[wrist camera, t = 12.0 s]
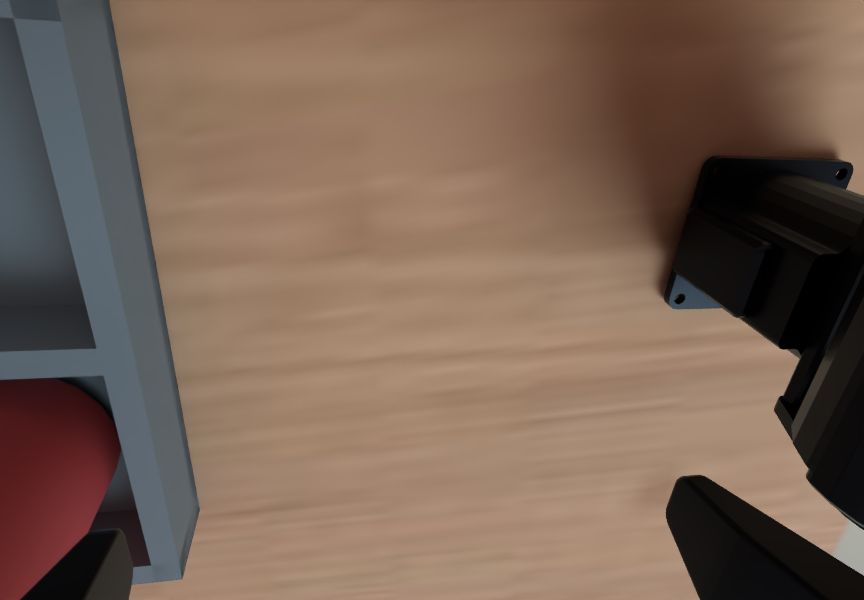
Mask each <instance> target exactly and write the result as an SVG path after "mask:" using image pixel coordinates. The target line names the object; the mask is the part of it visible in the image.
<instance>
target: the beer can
mask: <svg viewBox="0 0 864 600" xmlns="http://www.w3.org/2000/svg"><path fill="white" fill-rule="evenodd" d="M120 452H121V446H120V442H119V438H118V433H117V429H116V425H115V424H114V422H113V421H112V419H111V418H110V417H109V415H108V414H107V412H106V411H105V410H104V408H103V407H102V405H100V404H99V403H98V402H97V401H95V400H94V399H93V398H91V397H90V396H89V395H87V394H86V393H85V392H84V391H82V390H81V389H80V388H78V387H76V386H73V385H71V384H69V383H66V382H64V381H62V380H60V379H57V378H31V379H7V380H0V600H20V599H21V598H22V597H23V596H24V595H25V594H26V593H27V592H28V591H29V590H30V589H31V588H32V587H33V586H34V585H35V584H36V583H37V582H38V581H39V580H40V579H41V578H42V577H43V576H44V575H45V574H46V573H47V572H48V571H49V570H50V569H51V568H52V567H53V566H54V565H55V564H56V563H57V562H58V561H59V560H60V559H61V558H62V557H63V556H64V555H65V554H66V553H67V552H68V551H69V550H70V549H71V548H72V547H73V546H74V545H75V544H76V543H77V542H78V541H79V540H80V539H81V538H83V537H84V536H85V535H86V534H87V533H88V531H89V529H90V527H91V524H92V522H93V520H94V518H95V516H96V513H97V511H98V509H99V507H100V505H101V502H102V500H103V498H104V496H105V493H106V491H107V489H108V487H109V485H110V482H111V480H112V478H113V476H114V474H115V471H116V469H117V465H118V461H119V456H120Z"/></svg>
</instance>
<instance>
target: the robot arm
mask: <svg viewBox="0 0 864 600" xmlns="http://www.w3.org/2000/svg"><path fill="white" fill-rule="evenodd" d="M718 165H719V170H718V172H717V173H715V174H714V170H715V168H716V167H717V166H718ZM838 171H839V173H838V174H837V172H838ZM852 173H853V165H852V164H851V163H849V162H845V161H842V160H839V159H810V158H780V157H750V156H720V155H717V156H712V157H710V158H709V159H707V161H706V162H705V163H704V165H703V167H702V169H701V172H700V176H699V179H698V183H697V186H696V189H695V193H694V196H693V200H692V203H691V206H690V210H689V213H688V215H687V218H686V222H685V225H684V228H683V232H682V235H681V239H680V242H679V245H678V249H677V252H676V255H675V259H674V262H673V266H672V270H671V274H670V277H669V281H668V284H667V287H666V291H665V294H664V300H665V302H666V303H667V304H668V305H669V306H670V307H672V308H673V309H707V308H723V309H724V310H726V311H727V312H728V313H730V314H731V315H732V316H734V317H736V318H740V319H741V320H742V321H744V322H745V323H746V324H748V325H749V326H750V327H752V328H753V329H754V330H756V331H757V332H759V333H760V334H761V335H763V336H764V337H765V338H767V339H768V340H769V341H771V342H772V343H773V344H775V345H776V346H777V347H779V348H780V349H784V350H785V349H787V350H788V351H790V352H791V353H792V354H794V355H795V356H797V357H798V358H799V359H800V360H799V362H798V364H797V366H796V369H795V371H794V373H793V375H792V377H791V380H790V382H789V384H788V386H787V389H786V391H785V393H784V395H783V396H780V397H779V399H778V401H777V403H776V405H775V408H774V411H775V413H776V415H777V416H778V418H779V420H780V421H781V423H782V425H783V426H784V428H785V430H786V431H787V433H788V435H789V436H790V438H791V440H792V441H793V444H794V446H795V448H796V449H797V451H798V453H799V454H800V456H801V458H802V459H803V461H804V463H805V464H806V466H807V467H808V468H809V470H808V472H807V473H806V478H807V480H808V481H809V483H810V484H811V485H812V487H813V488H814V489H815V490H817V491H818V492H819V493H820V494H821V495H822V496H823V497H824V498H825V499H826V500H827V501H828V502H829V503H830V504H831V505H833V506H834V507H835V508H837V509H838V510H839V511H840V512H841V513H842V514H843V515H844V516H845V517H847V518H848V519H849V520H851V521H852V522H853V523H854V524H856V525H857V526H858V527H860V528H861V529H863V530H864V196H863V195H860V194H857V193H854V192H851V191H848V190H846V188H847V186H848V183H849V181H850V179H851V176H852ZM836 174H837V175H836ZM678 294H680V296H679V297H678V298H677V299H675V297H676V296H677V295H678ZM674 299H675V300H674ZM666 519H667V523H668V526H669V528H670V530H671V533H672V535H673V537H674V540H675V542H676V544H677V547H678V549H679V552H680V554H681V556H682V559H683V561H684V563H685V566H686V568H687V570H688V573H689V575H690V577H691V580H692V582H693V585H694V587H695V589H696V592H697V594H698V596H699V598H700V600H864V576H863V575H862V574H860V573H858V572H857V571H855V570H854V569H852V568H850V567H848V566H847V565H845V564H844V563H842V562H841V561H839V560H837V559H836V558H834V557H833V556H831V555H830V554H828V553H827V552H825V551H823V550H822V549H820V548H819V547H817V546H815V545H814V544H812V543H811V542H809V541H807V540H806V539H804V538H803V537H801V536H799V535H798V534H796V533H795V532H793V531H791V530H790V529H788V528H787V527H785V526H783V525H782V524H780V523H779V522H777V521H776V520H774V519H772V518H771V517H769V516H768V515H766V514H764V513H763V512H761V511H760V510H758V509H756V508H755V507H753V506H752V505H750V504H748V503H747V502H745V501H744V500H742V499H740V498H739V497H737V496H736V495H734V494H732V493H731V492H729V491H728V490H726V489H725V488H723V487H721V486H720V485H718V484H717V483H715V482H713V481H712V480H710V479H709V478H707V477H705V476H702V475H691V476H682V477H680V478H679V479H677V481H676V483H675V486H674V488H673V491H672V494H671V496H670V499H669V502H668V505H667V508H666ZM132 580H133V564H132V560H131V556H130V553H129V549H128V546H127V542H126V538H125V535H124V533H123V531H122V530H121V529H119V528H112V529H101V530H93V531H91V532H89V533H87V534H86V535H85V536H84V537H83V538H81V539H80V540H79V541H78V542H77V543H76V544H75V545H74V546H73V547H72V548H71V549H70V550H69V551H68V552H67V553H66V554H65V555H64V556H63V557H62V558H61V559H60V560H59V561H58V562H57V563H56V564H55V565H54V566H53V567H52V568H51V569H50V570H49V571H48V572H47V573H46V574H45V575H44V576H43V577H42V578H41V579H40V580H39V581H38V582H37V583H36V584H35V585H34V586H33V587H32V588H31V589H30V590H29V591H28V592H27V593H26V594H25V595H24V596H23V597H22V598H21V599H20V600H129V595H130V590H131V585H132Z"/></svg>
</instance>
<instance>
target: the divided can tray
mask: <svg viewBox="0 0 864 600" xmlns="http://www.w3.org/2000/svg"><path fill="white" fill-rule="evenodd" d="M31 378H57V379H60V380H62V381H64V382H66V383H69V384H71V385H73V386H76V387H78V388H80V389H81V390H82V391H84V392H85V393H86V394H87V395H89V396H90V397H91V398H93V399H94V400H95V401H97V402H98V403H99V404H100V405H102V407H103V408H104V410H105V411H106V412H107V414H108V415H109V417H110V418H111V419H112V421H113V422H114V424H115V425H116V429H117V433H118V438H119V442H120V446H121V452H120V456H119V461H118V465H117V469H116V471H115V474H114V476H113V478H112V480H111V482H110V485H109V487H108V489H107V491H106V493H105V496H104V498H103V500H102V502H101V505H100V507H99V509H98V511H97V513H96V516H95V518H94V520H93V522H92V524H91V527H90V529H89V531H88V533H89V532H91V531H93V530H101V529H112V528H119V529H121V530H122V531H123V533H124V535H125V538H126V542H127V546H128V549H129V553H130V556H131V560H132V564H133V580H132V585H134V584H143V583H153V582H162V581H171V580H181V579H182V578H183V574H184V570H185V566H186V562H187V558H188V554H189V550H190V546H191V542H192V538H193V534H194V530H195V526H196V522H197V518H198V514H199V510H200V509H199V504H198V498H197V493H196V487H195V481H194V476H193V470H192V464H191V459H190V453H189V448H188V442H187V436H186V431H185V425H184V420H183V414H182V408H181V403H180V397H179V391H178V386H177V380H176V375H175V369H174V363H173V358H172V352H171V347H170V341H169V335H168V330H167V324H166V318H165V313H164V307H163V302H162V296H161V290H160V285H159V279H158V274H157V268H156V262H155V257H154V251H153V245H152V240H151V234H150V229H149V223H148V217H147V212H146V206H145V201H144V195H143V189H142V184H141V178H140V173H139V167H138V161H137V156H136V150H135V144H134V139H133V133H132V128H131V122H130V116H129V111H128V105H127V100H126V94H125V88H124V83H123V77H122V71H121V66H120V60H119V55H118V49H117V43H116V38H115V32H114V27H113V21H112V15H111V10H110V4H109V0H0V380H7V379H31Z"/></svg>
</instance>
